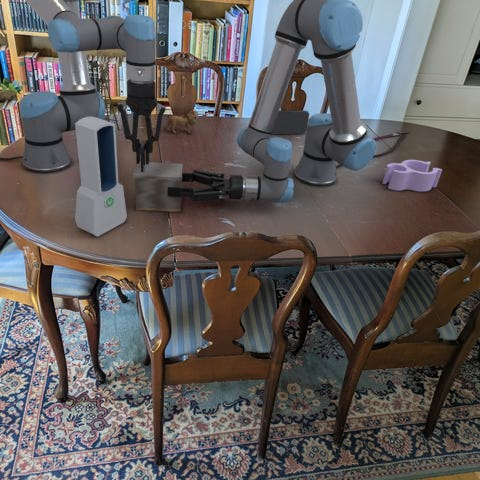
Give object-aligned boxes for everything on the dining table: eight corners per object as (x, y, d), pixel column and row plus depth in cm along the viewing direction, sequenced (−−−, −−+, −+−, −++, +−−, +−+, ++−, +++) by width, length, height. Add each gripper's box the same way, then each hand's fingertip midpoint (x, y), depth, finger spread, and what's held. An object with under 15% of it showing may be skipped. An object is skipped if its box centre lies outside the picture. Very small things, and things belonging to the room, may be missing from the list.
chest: (135, 209, 139) (134, 177, 134) (139, 194, 147) (138, 164, 142) (180, 211, 141) (181, 180, 135) (182, 197, 149) (182, 166, 143)
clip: (395, 193, 165) (400, 176, 161) (376, 178, 175) (380, 161, 171) (440, 190, 171) (447, 172, 167) (419, 175, 181) (425, 158, 177)
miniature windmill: (110, 136, 185) (105, 57, 169) (90, 133, 186) (84, 54, 170) (120, 129, 193) (116, 52, 177) (100, 125, 194) (95, 49, 178)
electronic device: (94, 238, 124) (84, 130, 108) (75, 229, 127) (62, 122, 111) (127, 220, 133) (123, 118, 117) (108, 212, 136) (101, 111, 120)
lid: (132, 177, 134) (131, 149, 129) (136, 164, 142) (135, 137, 137) (181, 180, 135) (182, 152, 130) (182, 166, 143) (183, 139, 138)
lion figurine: (195, 128, 201) (196, 108, 196) (199, 133, 197) (200, 112, 192) (162, 130, 196) (162, 108, 191) (164, 134, 192) (165, 113, 187)
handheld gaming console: (303, 131, 211) (307, 109, 206) (306, 133, 209) (310, 111, 204) (256, 132, 204) (259, 110, 199) (258, 135, 202) (261, 112, 197)
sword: (405, 131, 224) (406, 128, 224) (410, 133, 222) (411, 130, 222) (362, 142, 208) (362, 140, 208) (367, 144, 206) (368, 142, 206)
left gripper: (109, 81, 120) (114, 166, 132) (168, 86, 121) (168, 169, 134) (114, 74, 126) (118, 155, 139) (170, 78, 127) (169, 158, 140)
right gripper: (243, 216, 136) (166, 213, 133) (239, 182, 154) (170, 179, 152) (246, 193, 132) (166, 189, 129) (241, 161, 150) (171, 157, 148)
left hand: (142, 162), depth 136 cm, fingers closed on lid, 2 cm apart
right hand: (168, 183), depth 141 cm, fingers closed on chest, 9 cm apart
